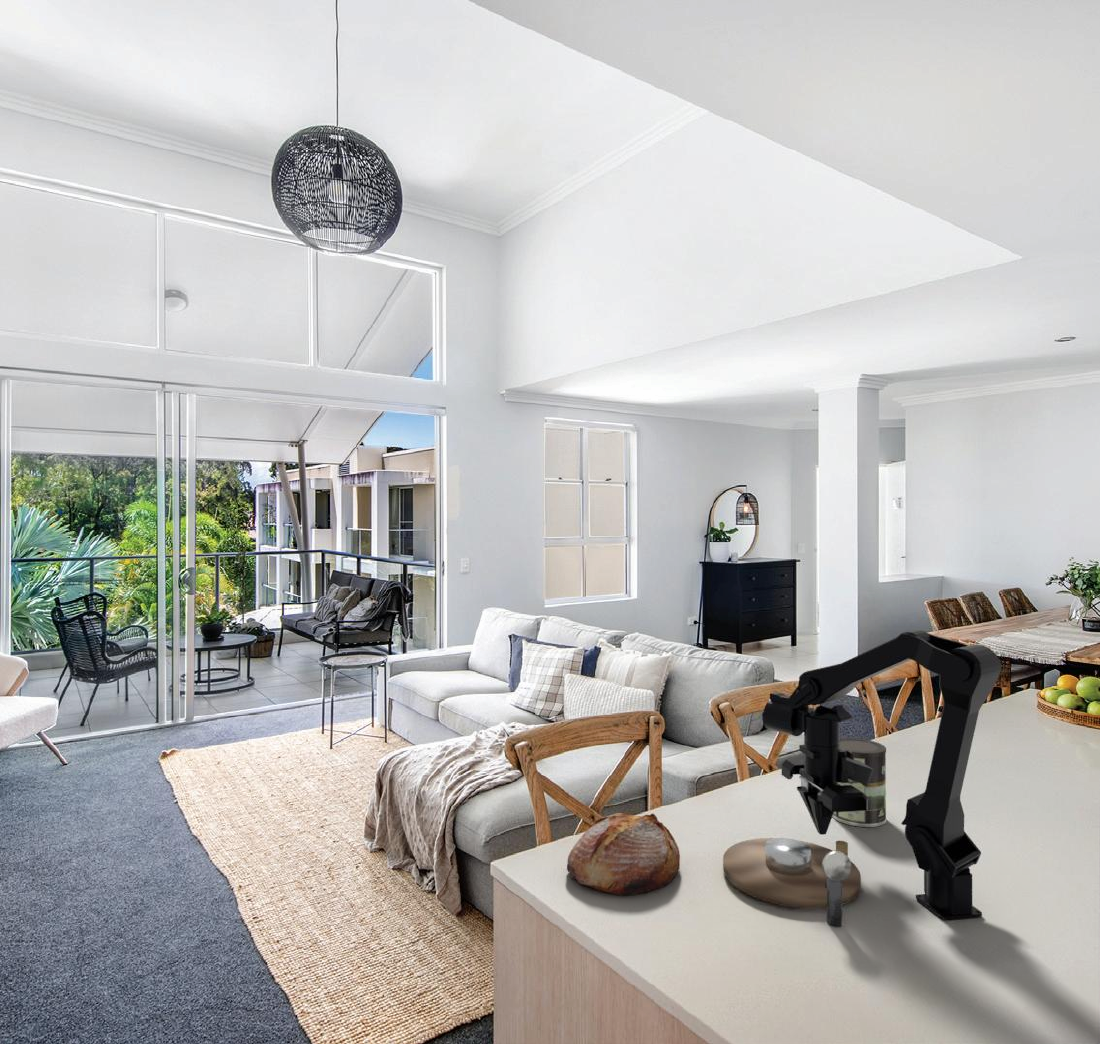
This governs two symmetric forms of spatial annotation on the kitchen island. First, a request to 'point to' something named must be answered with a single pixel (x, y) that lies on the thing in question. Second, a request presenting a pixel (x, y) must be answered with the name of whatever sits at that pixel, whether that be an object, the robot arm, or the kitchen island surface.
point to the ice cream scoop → (835, 884)
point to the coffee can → (876, 790)
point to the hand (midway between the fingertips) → (822, 833)
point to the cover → (788, 856)
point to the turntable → (785, 876)
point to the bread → (625, 855)
